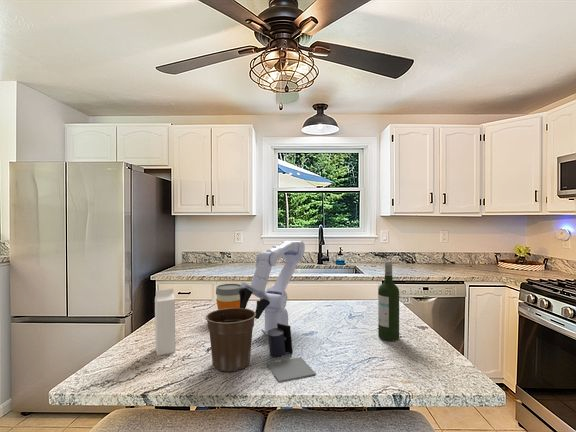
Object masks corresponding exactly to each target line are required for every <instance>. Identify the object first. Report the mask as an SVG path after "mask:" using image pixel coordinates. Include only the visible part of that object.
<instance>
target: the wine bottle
mask: <svg viewBox="0 0 576 432" xmlns="http://www.w3.org/2000/svg"><path fill="white" fill-rule="evenodd" d="M377 291H378V292H377V294H378V295H377V297H378V298H377V301H378V303H377V306H378V307H377V309H378V312H377V313H378V314H377V315H378V316H377V317H378V318H377V319H378V320H377V321H378V322H377V323H378V326H377V327H378V329H377V331H378V332H377V333H378V338H379V339H380V340H382V341H386V342H397V341H399V340H400V289H399V287H398V285H396V284H395V283H394V280H393V261H392V260H385V262H384V281H383V282H382V283H381V284H380V285H379V286H378V289H377Z"/></svg>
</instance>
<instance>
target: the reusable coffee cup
mask: <svg viewBox="0 0 576 432" xmlns="http://www.w3.org/2000/svg"><path fill="white" fill-rule="evenodd" d="M240 286H241V283H223V284H219V285H217V286H216V288H215V294H216V306H217V307H216V308H217V310H220V309H226V308H240V294H239V290H240V289H242V288H240Z"/></svg>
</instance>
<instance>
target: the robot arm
mask: <svg viewBox="0 0 576 432" xmlns="http://www.w3.org/2000/svg"><path fill="white" fill-rule="evenodd" d="M305 248H306V246H305V243H304V240H286V239H285V240H282V241H281V244H280V245H279V246H278V245H277V244H276V245H272V247H271V248H267V250H266V251H260V252H259V253H258V254H257V255H256V263H255V271H254V275H253V277H252V280H251V284H250V283H247V282H241V283H240V285H241V286H240V288H242V289H240V290H239V294H240V308H245V309H247V305H248V302H249V300H250V298H251V296H252V295H253V296H255V297H257V298H259V300H256V306H255V307H256V309H255V310H254V312H255V313H256V316H255V318H254V319H257V320H258V319H259V320H260V318H261V315H262V314H263V312H264V327H262V328H261V330H262V331H263V333H265V335H266V336H268V331H269V330H271V329H273V328H277V323H280V324H285V325H289V312H288V309H287V308H286V306H287V303H288V299H289V298H288V293H287V292H286V290H287V287H288V285H289V282H290V280H291V278H292V276H293V274H294V272H295V271H296V268H297V266H298V263H299V262H300V261H301V260H302V258H303V256H304V255H305ZM280 259H282V260H284V262H285V263H284V265H283V267H282V269H281V271H280V273H279V275H278V277H277V279H276V281H275V282H274V284H273V286H271V287H268V288H266V287H267V284H268V280H269V278H270V275H271V271H272V268H273V267H275V266H276V264H277V262H278V261H279V260H280Z"/></svg>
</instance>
